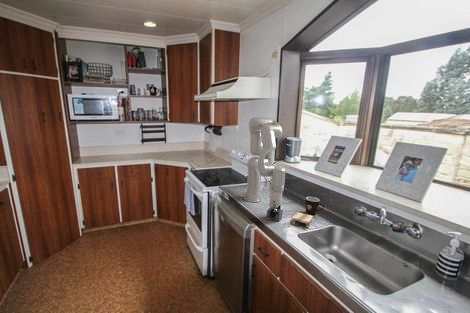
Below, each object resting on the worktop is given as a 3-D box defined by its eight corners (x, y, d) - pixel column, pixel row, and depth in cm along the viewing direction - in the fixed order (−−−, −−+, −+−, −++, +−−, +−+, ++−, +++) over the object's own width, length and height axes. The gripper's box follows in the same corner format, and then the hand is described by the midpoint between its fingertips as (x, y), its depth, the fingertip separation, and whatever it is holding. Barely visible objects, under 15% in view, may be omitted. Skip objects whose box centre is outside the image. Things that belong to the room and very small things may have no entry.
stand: (291, 223, 142) (292, 217, 141) (295, 217, 151) (296, 211, 150) (308, 228, 137) (309, 222, 137) (311, 222, 146) (312, 215, 145)
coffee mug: (301, 211, 161) (303, 197, 159) (311, 210, 164) (313, 196, 162) (312, 218, 151) (314, 203, 149) (323, 217, 154) (325, 202, 152)
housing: (266, 218, 147) (267, 208, 146) (269, 215, 152) (270, 205, 151) (278, 222, 143) (279, 212, 142) (281, 218, 148) (282, 209, 147)
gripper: (276, 183, 153) (273, 208, 156) (266, 190, 138) (264, 218, 141) (287, 185, 149) (285, 211, 152) (279, 192, 134) (276, 221, 137)
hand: (275, 214), depth 147 cm, fingers open, 9 cm apart
